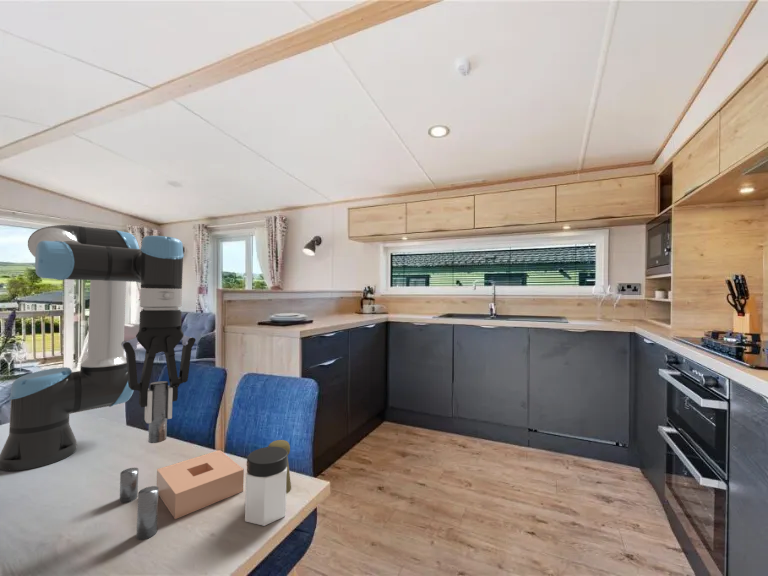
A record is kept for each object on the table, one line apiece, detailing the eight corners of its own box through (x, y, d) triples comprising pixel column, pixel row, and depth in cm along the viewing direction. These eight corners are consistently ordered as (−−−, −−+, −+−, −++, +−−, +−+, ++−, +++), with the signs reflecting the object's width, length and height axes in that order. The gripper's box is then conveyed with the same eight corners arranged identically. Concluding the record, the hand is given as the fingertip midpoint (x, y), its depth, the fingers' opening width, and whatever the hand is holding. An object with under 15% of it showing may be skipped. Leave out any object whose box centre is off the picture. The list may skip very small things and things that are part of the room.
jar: (277, 495, 78) (278, 442, 78) (295, 512, 72) (296, 454, 72) (237, 512, 72) (238, 454, 72) (253, 532, 66) (254, 469, 66)
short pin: (118, 498, 76) (119, 471, 76) (135, 492, 78) (136, 466, 78) (121, 504, 74) (122, 476, 74) (139, 498, 76) (139, 471, 76)
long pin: (146, 439, 73) (148, 383, 73) (164, 435, 75) (165, 380, 75) (150, 444, 70) (151, 385, 71) (168, 440, 73) (169, 383, 73)
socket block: (156, 491, 79) (156, 469, 79) (219, 469, 89) (219, 449, 89) (174, 519, 69) (175, 494, 69) (243, 491, 79) (243, 469, 79)
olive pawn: (283, 498, 77) (284, 449, 77) (259, 495, 78) (260, 446, 78) (295, 484, 83) (296, 438, 83) (272, 481, 84) (273, 435, 84)
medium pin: (134, 533, 65) (136, 490, 65) (154, 526, 67) (156, 484, 67) (138, 542, 63) (140, 497, 63) (158, 534, 65) (160, 490, 65)
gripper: (116, 310, 65) (113, 434, 65) (207, 308, 77) (204, 414, 76) (111, 308, 71) (107, 424, 70) (196, 307, 82) (194, 406, 81)
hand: (158, 419), depth 73 cm, fingers closed on long pin, 3 cm apart
